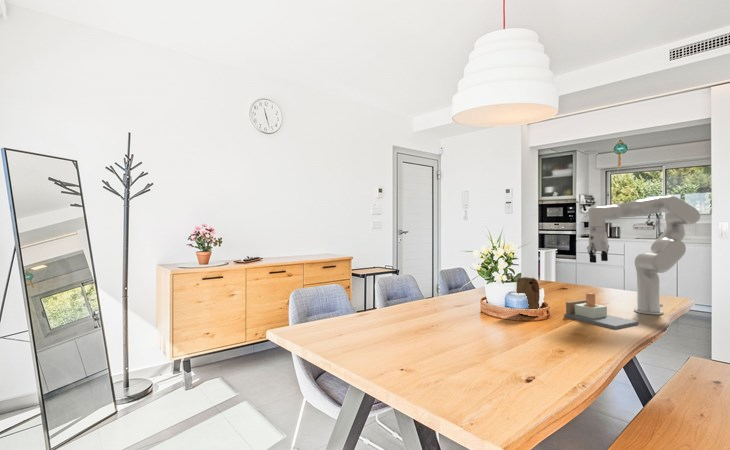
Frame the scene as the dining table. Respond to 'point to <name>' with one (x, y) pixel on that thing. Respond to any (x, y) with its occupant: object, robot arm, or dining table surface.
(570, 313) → the stop board
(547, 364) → the dining table surface
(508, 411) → the dining table surface
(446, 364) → the dining table surface
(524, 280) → the block
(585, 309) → the socket block
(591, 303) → the orange rectangular post
